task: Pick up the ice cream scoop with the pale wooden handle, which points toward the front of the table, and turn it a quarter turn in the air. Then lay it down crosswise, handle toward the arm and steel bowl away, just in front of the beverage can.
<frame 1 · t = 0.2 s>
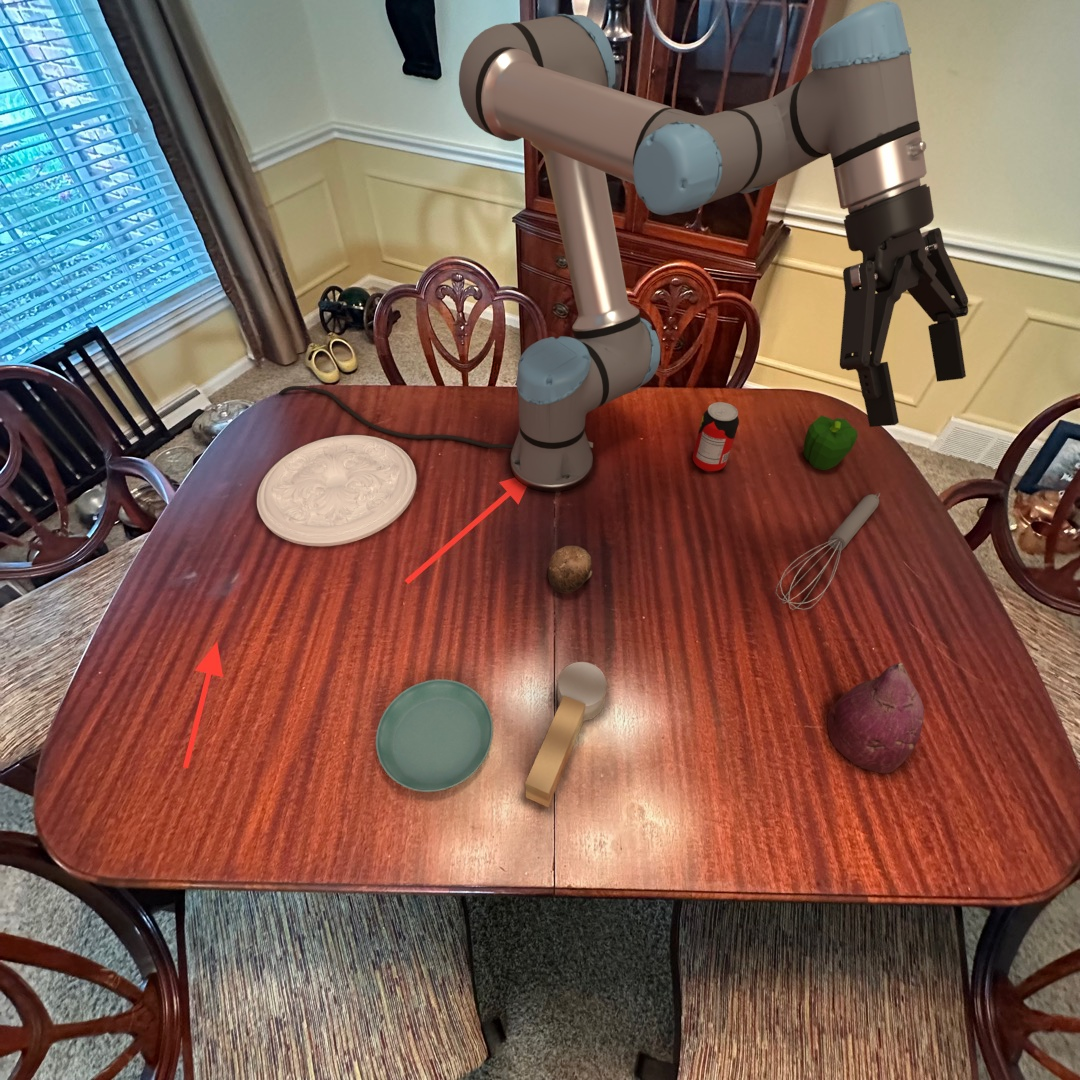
hand: (919, 401, 66), 36 cm above the table, tool tilted 35°, fingers open, 13 cm apart
kitchen whisk: (827, 553, 99), on the table
saucer: (437, 740, 78), on the table
mushroom: (568, 580, 95), on the table
vegetable: (866, 734, 78), on the table
bell pepper: (818, 461, 114), on the table
ceiling medallion: (339, 488, 109), on the table
scoop: (537, 802, 73), on the table
beverage can: (708, 463, 113), on the table
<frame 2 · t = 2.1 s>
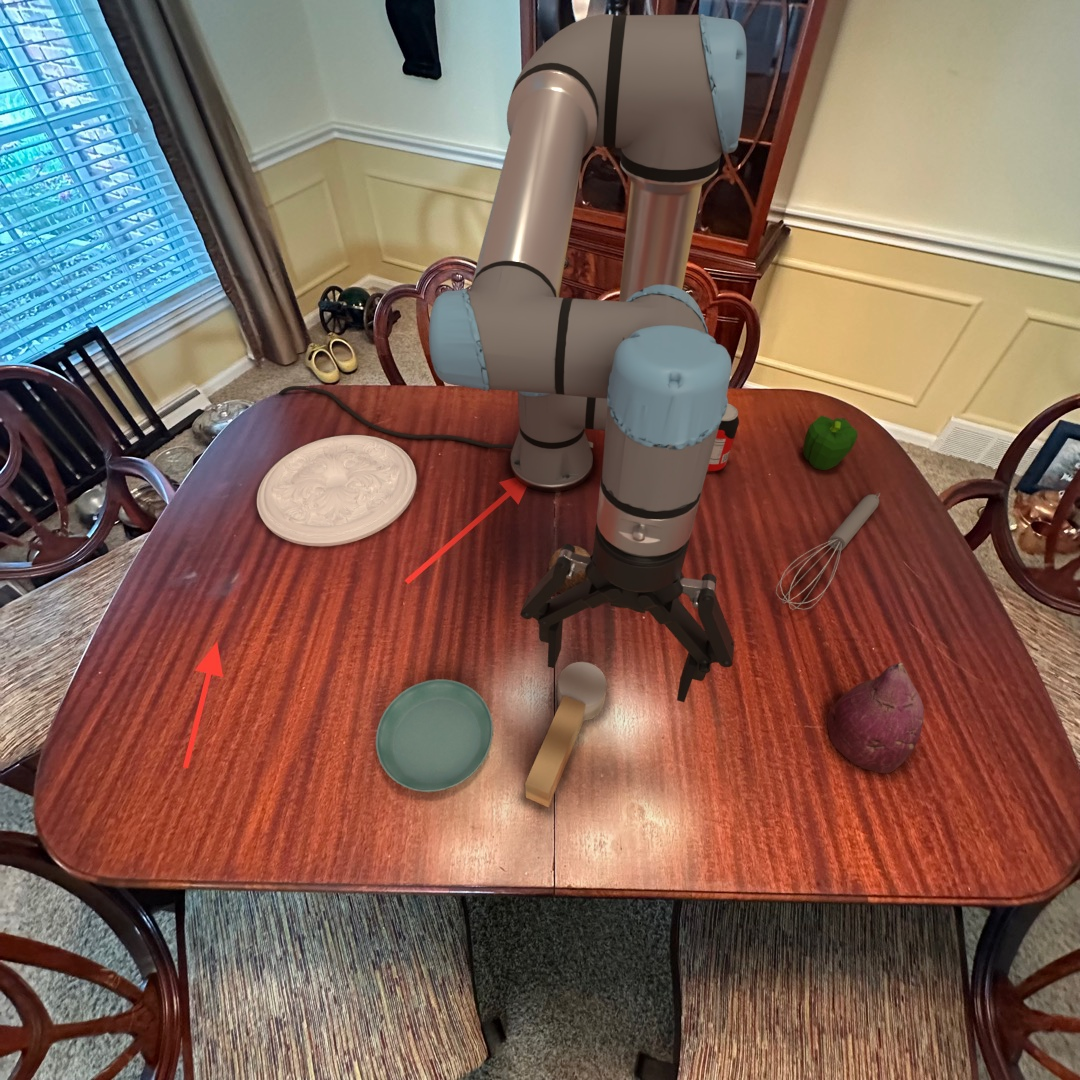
hand: (616, 673, 63), 19 cm above the table, tool pointing down, fingers open, 13 cm apart
nothing on the table moved.
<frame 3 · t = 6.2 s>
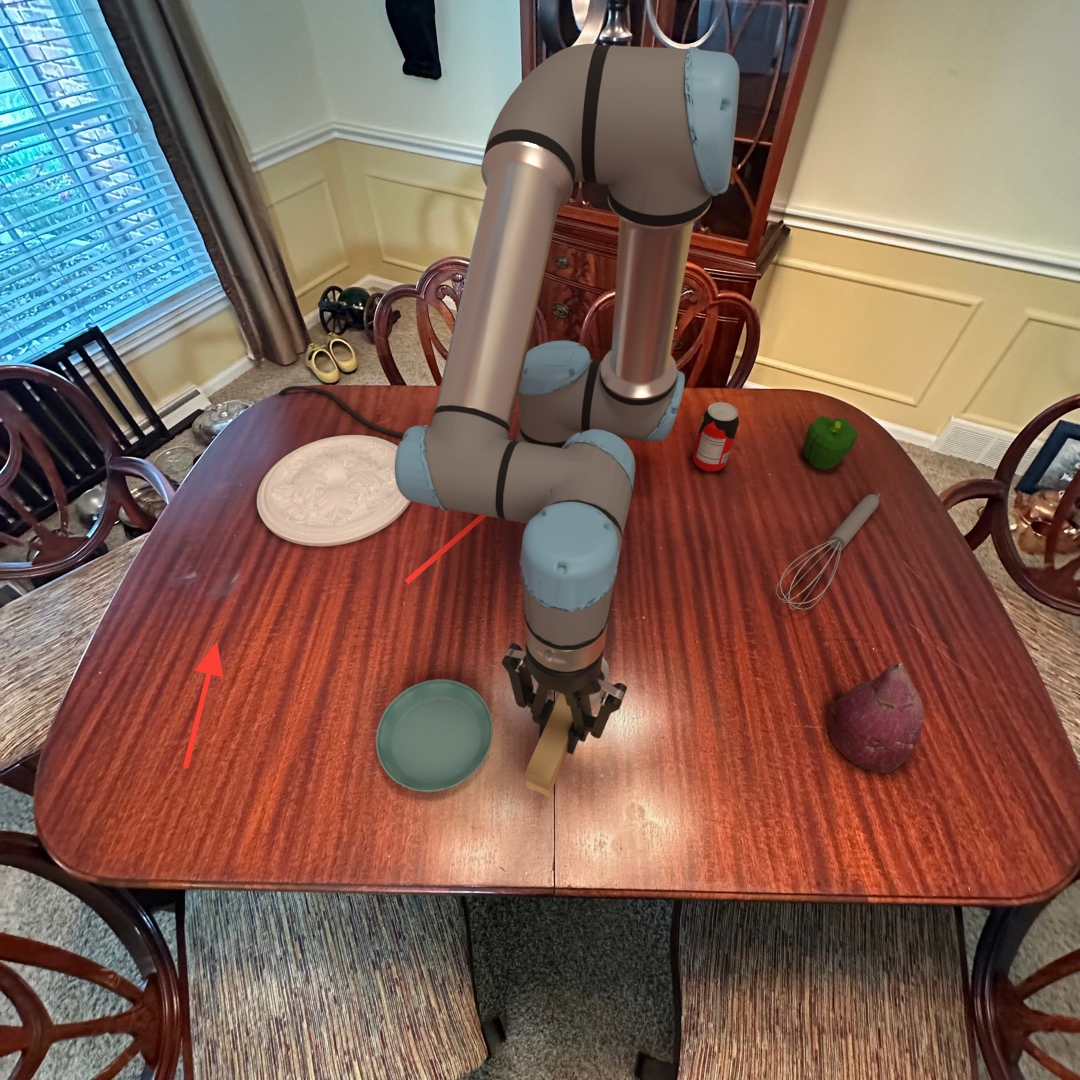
hand: (560, 737, 75), 3 cm above the table, tool pointing down, fingers closed on scoop, 3 cm apart
scoop: (537, 792, 71), point 3 cm above the table, touching gripper
everything else where it was.
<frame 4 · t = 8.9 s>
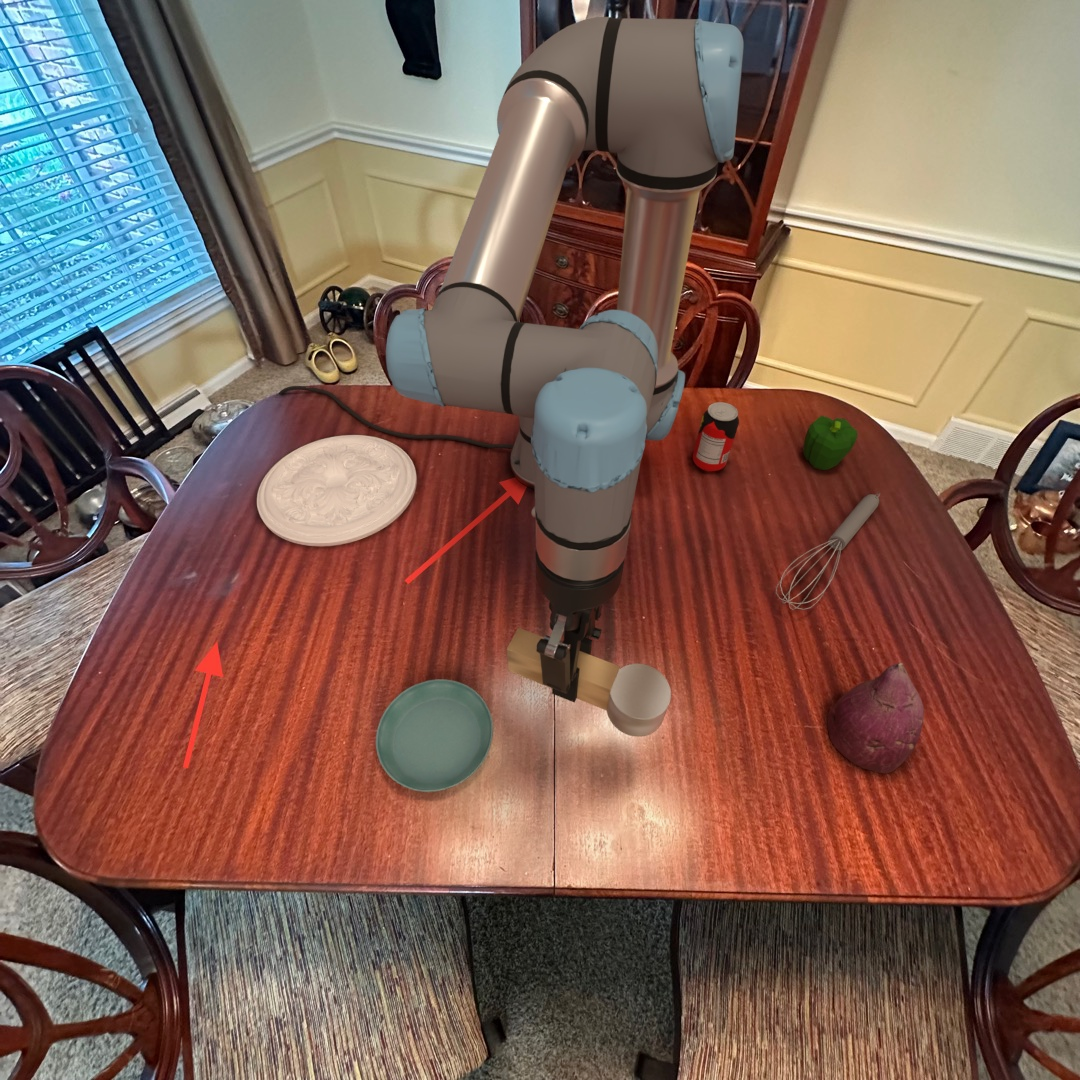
hand: (570, 681, 68), 14 cm above the table, tool pointing down, fingers closed on scoop, 3 cm apart
scoop: (514, 660, 70), point 14 cm above the table, touching gripper
everything else where it was.
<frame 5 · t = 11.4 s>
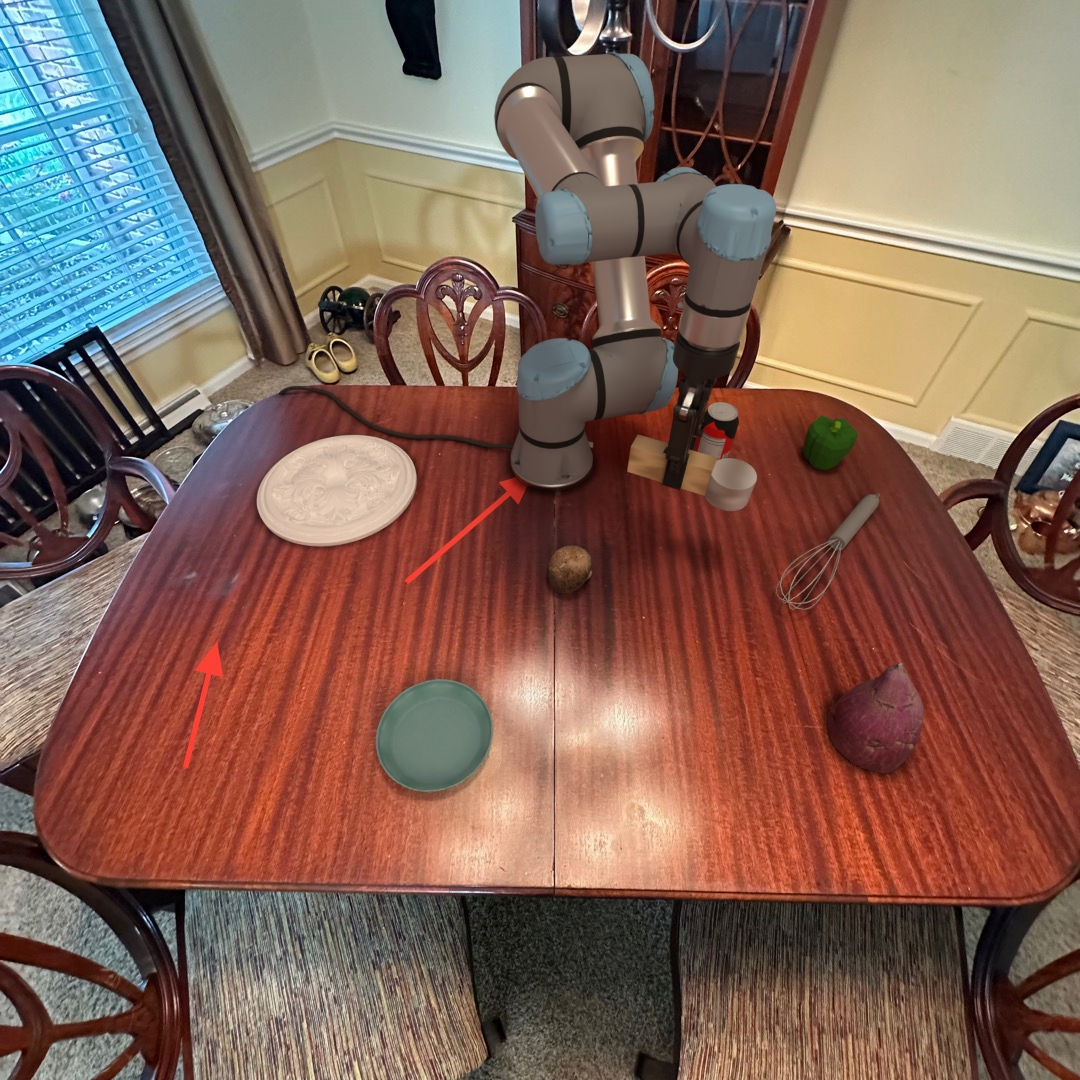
hand: (675, 477, 90), 14 cm above the table, tool pointing down, fingers closed on scoop, 3 cm apart
scoop: (630, 465, 92), point 14 cm above the table, touching gripper
everything else where it was.
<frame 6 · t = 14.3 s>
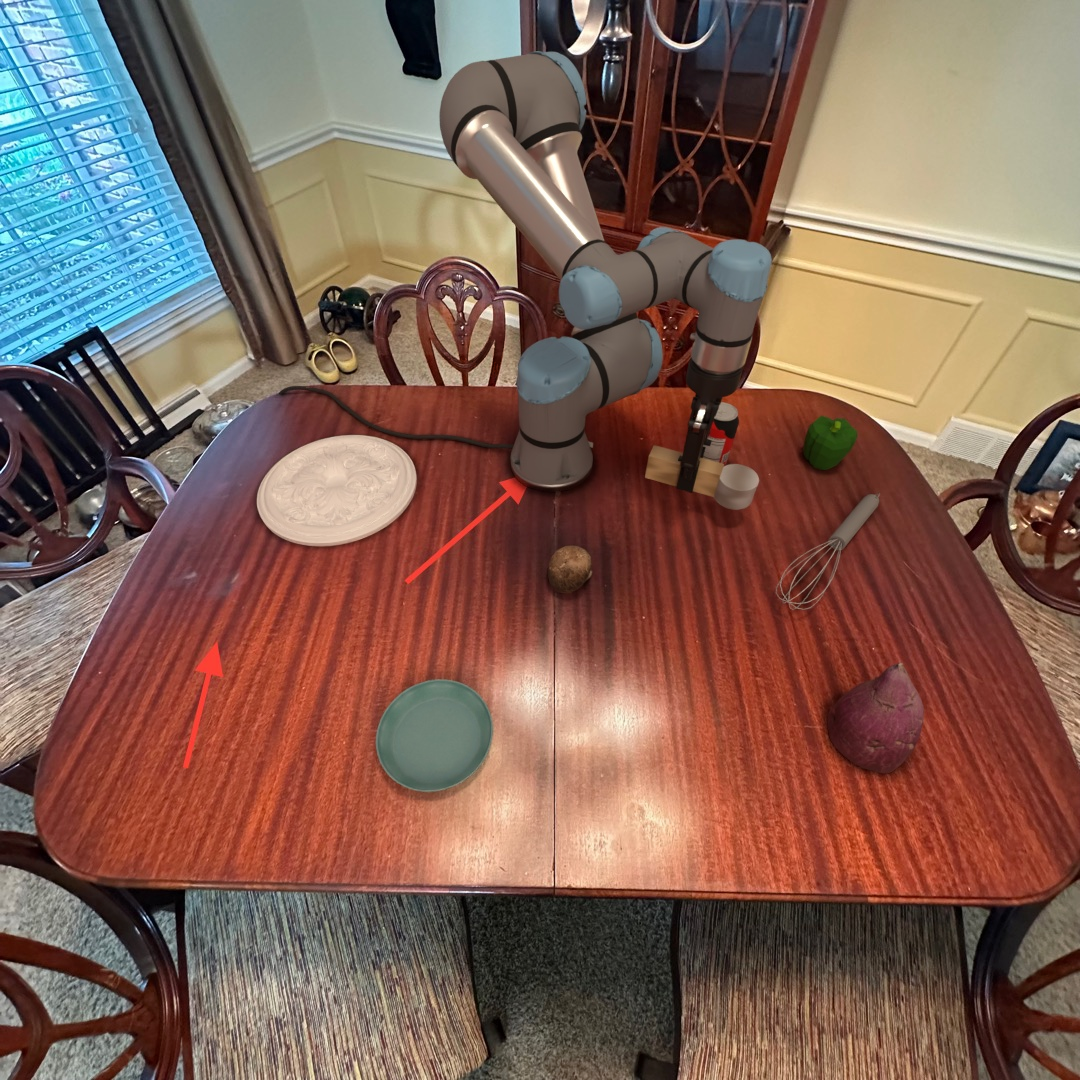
hand: (687, 482, 103), 5 cm above the table, tool pointing down, fingers closed on scoop, 3 cm apart
scoop: (647, 472, 105), point 5 cm above the table, touching gripper
everything else where it was.
when the fingers open (0 cm above the table, at t = 16.5 s): scoop stays where it is, on the table.
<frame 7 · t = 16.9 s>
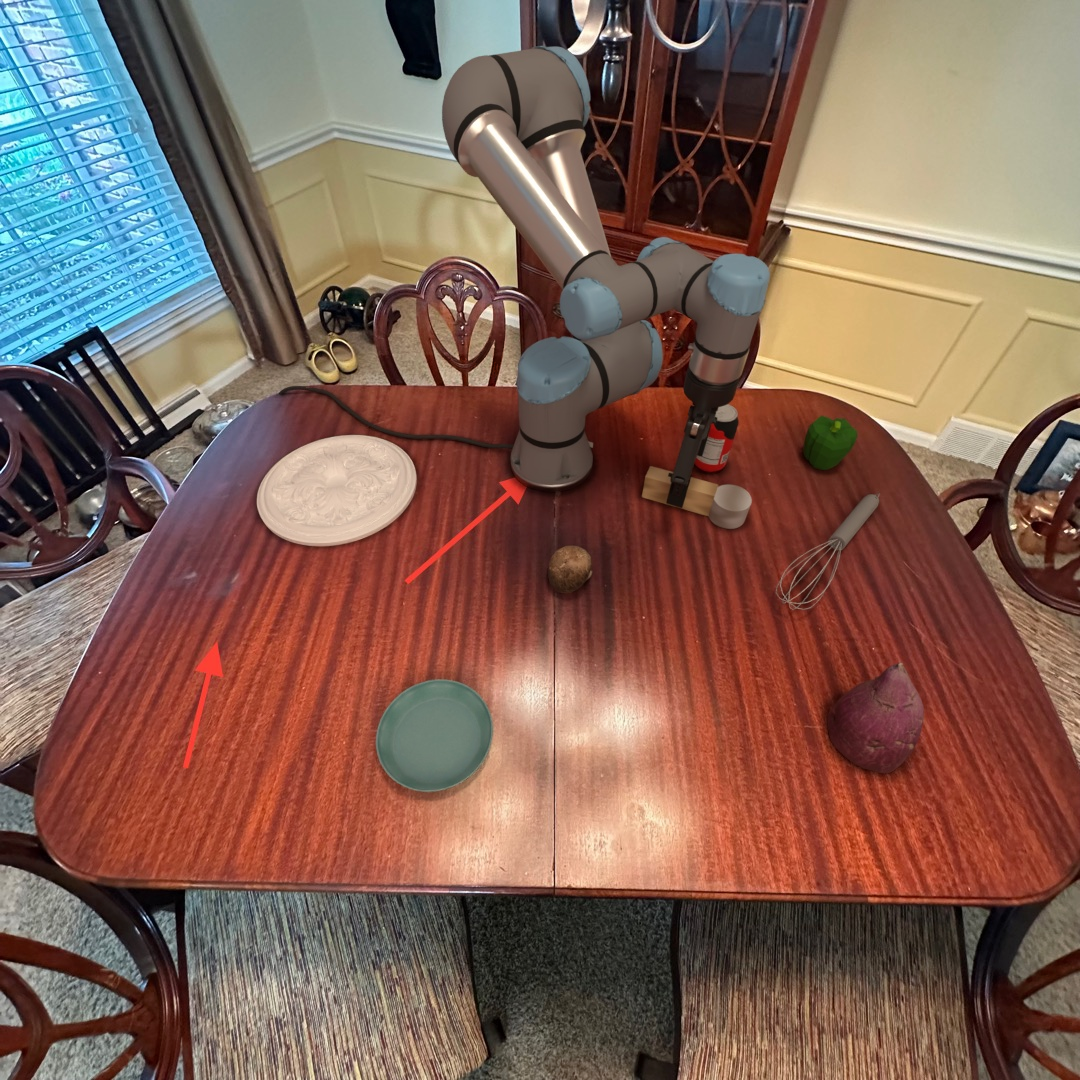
hand: (685, 478, 103), 5 cm above the table, tool pointing down, fingers open, 13 cm apart
scoop: (644, 491, 108), on the table
beverage can: (707, 464, 113), on the table, touching gripper
everything else where it was.
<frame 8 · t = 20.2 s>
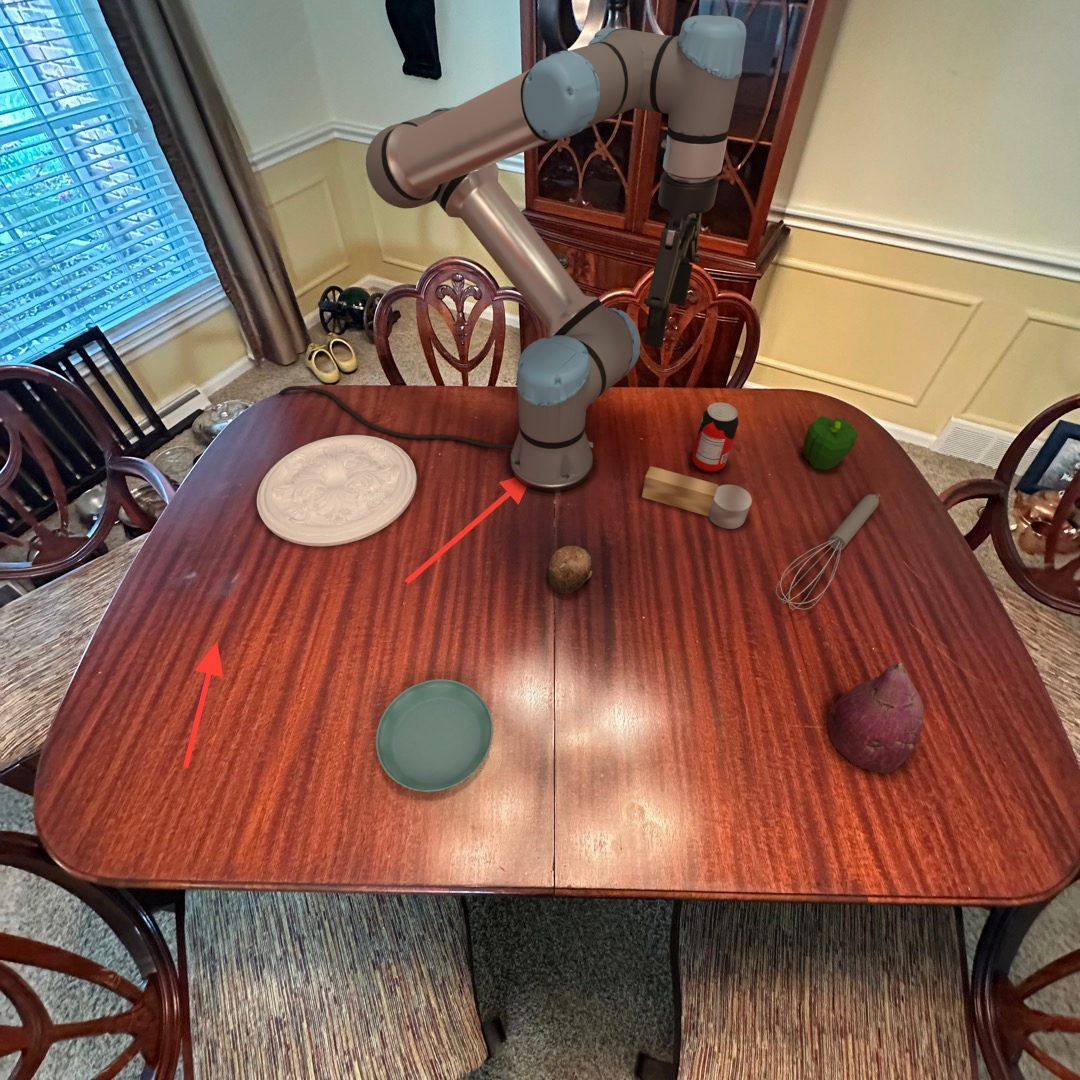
hand: (665, 323, 95), 27 cm above the table, tool pointing down, fingers open, 13 cm apart
beverage can: (707, 464, 113), on the table
everything else where it was.
at the end: scoop inside the target area on the table beside the beverage can (0.2 cm from its centre), on the table; the gripper is holding nothing; beverage can moved 0.2 cm from its start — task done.
